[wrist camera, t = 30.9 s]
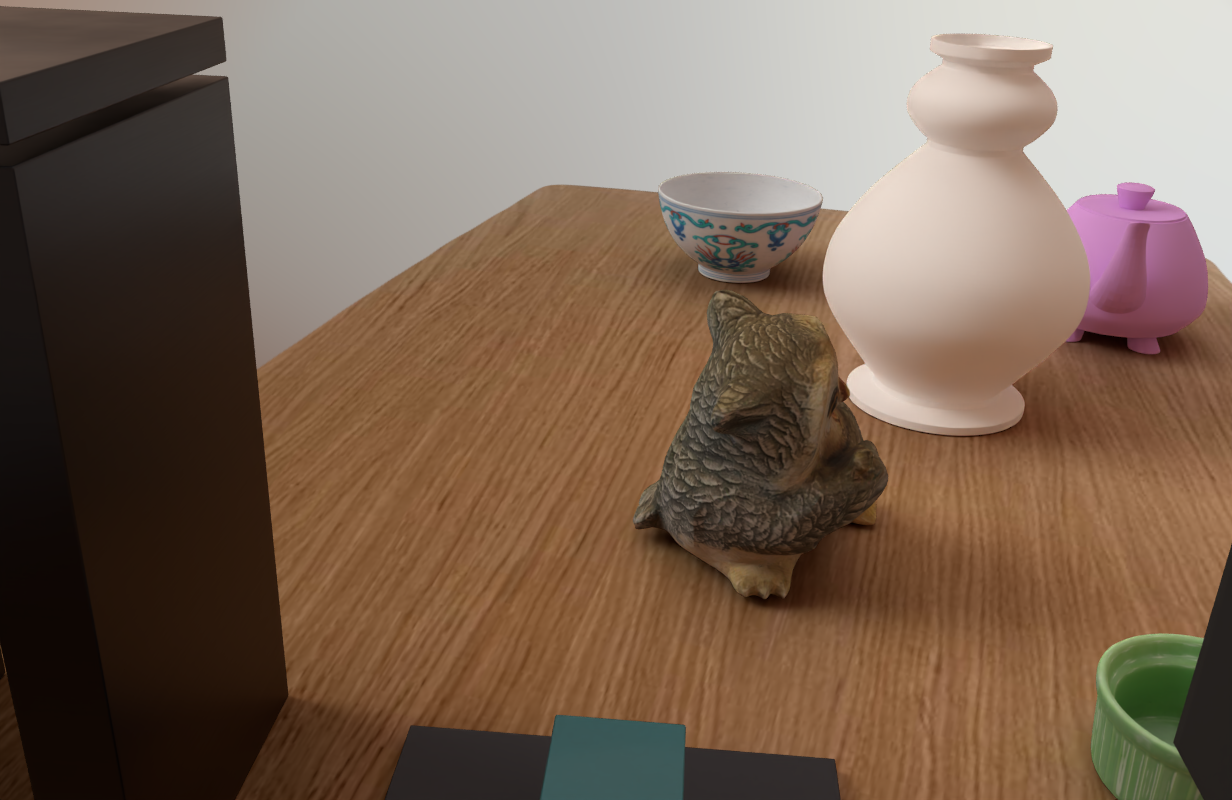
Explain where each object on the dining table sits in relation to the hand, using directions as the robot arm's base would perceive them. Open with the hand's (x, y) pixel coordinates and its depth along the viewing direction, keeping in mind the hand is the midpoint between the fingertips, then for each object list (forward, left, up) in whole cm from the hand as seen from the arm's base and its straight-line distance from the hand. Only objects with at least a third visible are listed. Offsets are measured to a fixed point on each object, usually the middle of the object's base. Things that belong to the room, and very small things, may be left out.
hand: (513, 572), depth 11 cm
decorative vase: (+20, +70, -28) cm, 78 cm away
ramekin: (+24, +31, -28) cm, 48 cm away
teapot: (+37, +86, -28) cm, 98 cm away
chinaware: (+6, +97, -28) cm, 101 cm away
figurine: (+7, +47, -28) cm, 55 cm away
